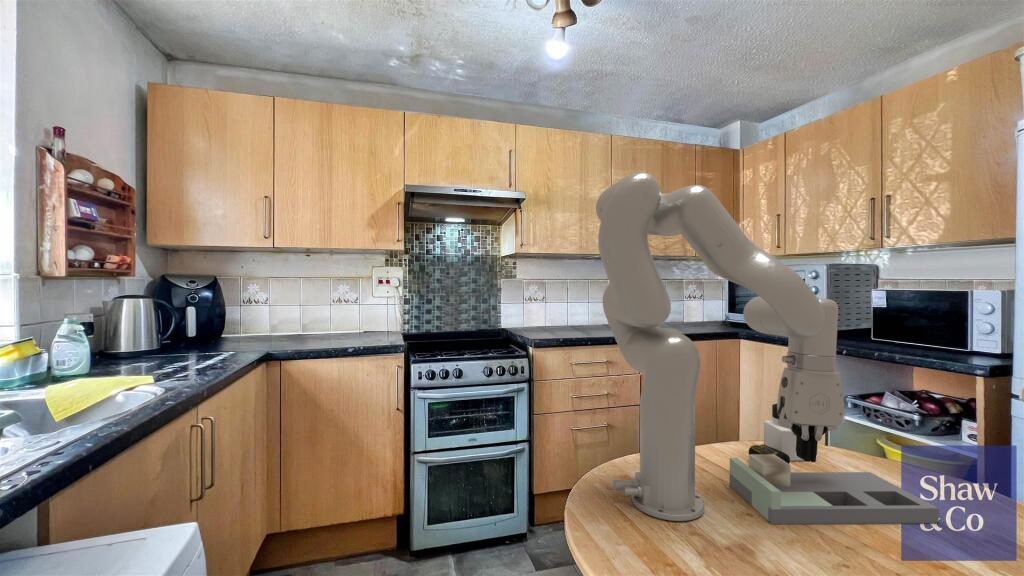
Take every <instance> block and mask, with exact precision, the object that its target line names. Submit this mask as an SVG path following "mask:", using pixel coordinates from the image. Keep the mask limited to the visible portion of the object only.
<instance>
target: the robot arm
mask: <svg viewBox="0 0 1024 576" xmlns="http://www.w3.org/2000/svg"><path fill="white" fill-rule="evenodd" d="M595 214H596V215H597V218H598V220H599V221H600V225H599V230H598V239H597V240H598V243H597V245H598V250H599V251H598V252H599V256H600V259H601V262H602V265H603V268H604V270H605V273H606V276H607V278H608V281H609V284H608V285H607V286H606V288H605V289H604V292H603V295H602V308H603V313H604V315H605V318H606V320H607V323H608V325H609V328H610V330H611V332H612V334H613V337H614V339H615V342H616V343H617V346H618V348H619V351H620V352H621V355H622V357H623V359H624V360H625V362H626V363H627V365H629V367H631V368H632V369H633V370H635V371H637V372H638V373H641V374H643V375H644V378H643V385H642V388H641V391H640V398H639V471H636V472H634V477H630V478H629V479H623V478H621V479H620V478H614V479H613V489H614V491H615V492H616V491H618V492H619V491H623V494H624V496H627V497H628V496H630V499H631V502H632V504H633V505H634V506H635V507H636V508H637V509H638V510H639V511H641V512H643V513H644V514H647V515H649V516H651V517H654V518H657V519H661V520H666V521H671V522H672V521H673V522H686V521H692V520H695V519H697V518H699V517H701V516H702V515H703V514H704V512H705V506H706V505H705V500H704V499H703V497H702V496H700V495H699V494H698V493H697V492H696V400H697V399H696V397H697V396H696V395H697V388H698V382H699V377H700V373H701V363H702V362H701V354H700V352H699V349H698V347H697V346H696V344H695V342H693V341H692V340H691V338H690V337H688V336H686V335H685V334H683V333H680V332H678V331H674V330H671V329H665V328H661V327H660V326H661V325H663V324H664V323H665V322H666V321H667V319H668V318H669V317H670V314H671V310H672V309H671V308H672V306H671V305H672V303H671V299H670V296H669V293H668V291H667V289H666V286H665V284H664V281H663V278H662V277H661V275H660V273H659V270H658V268H657V265H656V263H655V260H654V258H653V254H652V251H651V249H650V245H649V237H648V236H649V235H650V236H651V235H652V236H662V237H674V236H675V237H676V236H678V235H681V236H682V237H683V238H684V240H685V241H686V242H687V243H688V244H689V246H690V247H691V248H692V250H693V251H694V252H695V253H696V255H697V256H698V257H699V258H700V260H701V261H702V262H703V263H704V265H705V266H706V267H707V269H708V270H709V271H710V272H712V273H713V274H715V275H717V276H718V277H720V278H722V279H723V280H724V279H725V280H726V281H729V282H732V283H734V284H737V285H739V286H742V287H744V288H745V289H747V290H749V291H750V292H752V293H753V294H756V295H757V296H756V297H753V298H751V299H750V300H749V301H747V303H746V304H745V305H744V308H743V312H742V314H743V315H742V316H743V320H744V322H745V323H746V324H747V325H748V327H749V328H750V329H752V330H754V331H755V332H757V333H758V332H759V333H761V334H765V335H771V336H779V337H785V338H786V337H787V338H788V345H787V351H786V352H787V353H786V355H783V356H781V361H782V363H784V364H786V366H787V367H784V369H783V371H782V374H781V377H780V382H779V385H778V386H779V387H778V393H777V401H776V403H777V413H778V415H779V416H780V417H779V420H778V425H780V426H782V427H784V428H787V429H790V430H791V431H792V432H793V434H794V435H795V436H796V455H797V456H798V457H799V458H801V459H803V460H804V461H803V462H807V463H810V462H811V463H816V462H817V455H818V442H820V441H821V440H822V439H823V438H822V437H823V436H824V435H825V434H826V433H827V432H831V431H836V430H838V428H839V426H841V425H842V424H843V422H844V418H845V417H844V415H845V414H844V413H845V412H844V411H845V407H844V406H845V404H844V403H845V402H844V390H843V383H842V379H841V378H842V377H841V374H840V372H838V371H836V362H837V361H836V360H837V359H836V358H837V343H838V341H837V340H838V323H839V321H838V320H839V319H838V318H839V305H838V304H837V302H836V301H835V300H832V299H830V298H829V299H828V298H819V297H817V295H816V294H815V292H813V290H812V289H811V288H810V286H809V284H807V282H806V281H805V280H804V279H803V277H801V276H800V274H798V273H797V272H796V271H795V270H794V269H792V267H790V266H788V265H787V264H786V263H784V262H782V261H781V260H779V259H778V258H776V257H774V256H773V255H771V254H770V253H768V252H767V251H766V250H764V249H762V248H760V247H758V246H757V245H755V244H754V243H753V242H752V240H750V239H749V237H748V236H747V235H746V233H745V232H744V231H743V229H741V227H740V226H739V224H738V223H737V221H736V220H735V219H734V218H733V217H732V215H731V214H730V213H729V211H728V210H727V209H726V208H725V207H724V205H723V204H722V202H721V201H720V200H719V199H718V198H717V196H716V195H715V194H714V193H713V192H712V190H710V189H709V188H708V187H706V186H704V185H700V184H691V185H688V186H684V187H683V186H682V187H681V188H679V189H678V188H677V189H676V190H674V191H671V192H669V193H662V189H661V185H660V182H659V181H658V180H657V179H656V178H655V177H654V176H653V175H652V174H649V173H647V172H634V173H631V174H629V175H626V176H624V177H623V178H621V179H619V180H618V181H616V182H615V183H614V184H612V185H611V186H609V187H608V188H606V189H605V190H604V191H602V193H600V195H599V196H598V199H597V200H596V204H595ZM790 421H791V422H790Z"/></svg>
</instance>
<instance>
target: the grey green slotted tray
mask: <svg viewBox="0 0 1024 576" xmlns="http://www.w3.org/2000/svg"><path fill="white" fill-rule="evenodd" d="M729 486H730V487H731V488H732V489H733V491H735V492H736V493H737V494H738V495H739V496H741V497H742V499H744V501H746V502H747V503H748V504H749V505H750V506H751V507H752V508H753V509H754V510H755V511H757V512H758V514H760V515H761V516H762V517H763V518H764V519H765V520H766V521H768V522H769V523H770V524H771V525H850V524H851V525H854V524H855V525H857V524H858V525H859V524H860V525H862V524H865V525H871V524H872V525H873V524H877V525H880V524H882V525H883V524H884V525H885V524H888V525H889V524H894V525H895V524H938V523H937V522H939V520H940V515H939V514H940V508H939V507H937V506H935V505H933V504H931V503H929V502H928V501H926V500H925V499H922V498H920V497H918V496H916V495H914V494H913V493H910V492H909V491H907V490H905V489H903V488H901V487H899V486H897V485H895V484H894V483H891V482H890V481H887V480H886V479H884V478H883V477H880V476H879V475H877V474H875V473H872V472H871V471H851V472H849V471H847V472H846V471H845V472H843V471H842V472H841V471H840V472H839V471H837V472H835V471H833V472H832V471H831V472H830V471H826V472H825V471H823V472H820V471H819V472H814V471H813V472H806V471H805V472H799V471H798V472H790V486H773V485H772V484H770V483H769V482H768V481H767V480H765V479H764V478H763V477H761V476H760V475H759V474H757V473H756V472H755V471H754V470H752V469H751V468H750V467H749V465H747V464H746V463H745V462H743V461H742V460H740V458H738V457H729Z"/></svg>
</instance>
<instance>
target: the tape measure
mask: <svg viewBox="0 0 1024 576" xmlns="http://www.w3.org/2000/svg"><path fill="white" fill-rule="evenodd" d="M749 454H775V455H776V456H778V457H779V458H781V459H782V460H784V461H785V462H787V463H788V464H790V463H791V461H790V457H789V456H788V455H787V454H785V453H784V452H781V451H779V450H777V449H774V448H772V447H769V446H767V445H764V443H763V444H753V445H751V446H750V447H749V448H748V455H749Z"/></svg>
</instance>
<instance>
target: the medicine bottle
mask: <svg viewBox="0 0 1024 576" xmlns="http://www.w3.org/2000/svg"><path fill="white" fill-rule="evenodd" d="M771 407H772V408H771V409H772V410H771V416H772V417H771V420H768V419H767V420H764V421H763V444H764V445H767V446H769V447H772V448H774V449H777V450H779V451H781V452H784V453H785V454H787V455H788V456H789V457H790V462H805V461H804V460H803V459H801V458H799V457H798V456H797V455H796V436H795V435H794V434H793V432H792V431H791V430H790V429H787V428H784V427H782V426H780V425H778V420H779V417H780V416H779V415H778V413H777V402H774V403H773V404H772V406H771ZM790 422H791V421H790Z"/></svg>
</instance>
